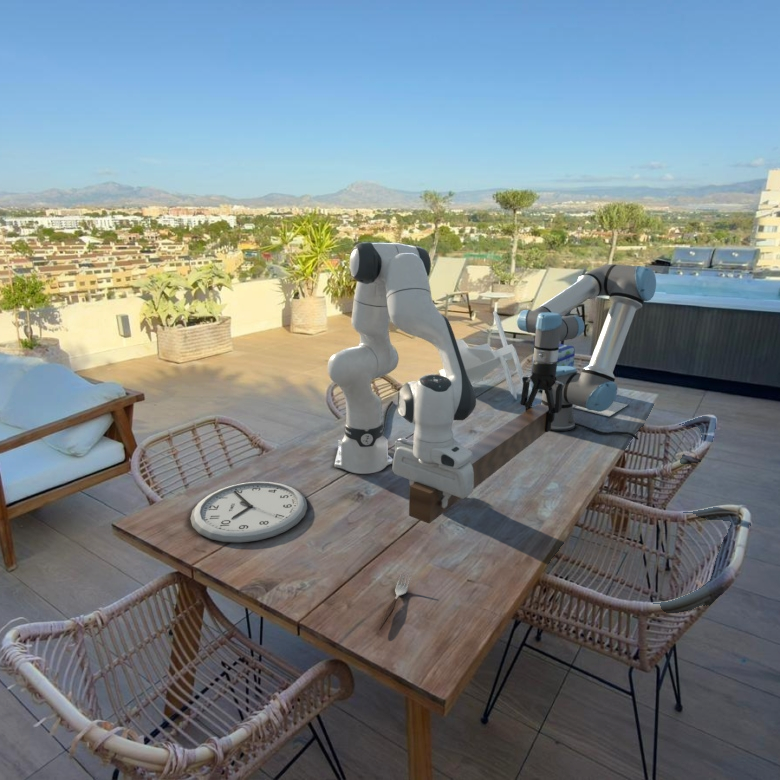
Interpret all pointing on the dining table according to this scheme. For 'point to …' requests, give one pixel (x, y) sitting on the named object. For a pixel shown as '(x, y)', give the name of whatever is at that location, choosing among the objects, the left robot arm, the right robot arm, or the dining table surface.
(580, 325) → the right robot arm
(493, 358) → the white plastic object
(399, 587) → the fork
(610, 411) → the invitation card
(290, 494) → the wall clock
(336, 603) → the dining table surface
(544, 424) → the beam
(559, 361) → the lunch box
